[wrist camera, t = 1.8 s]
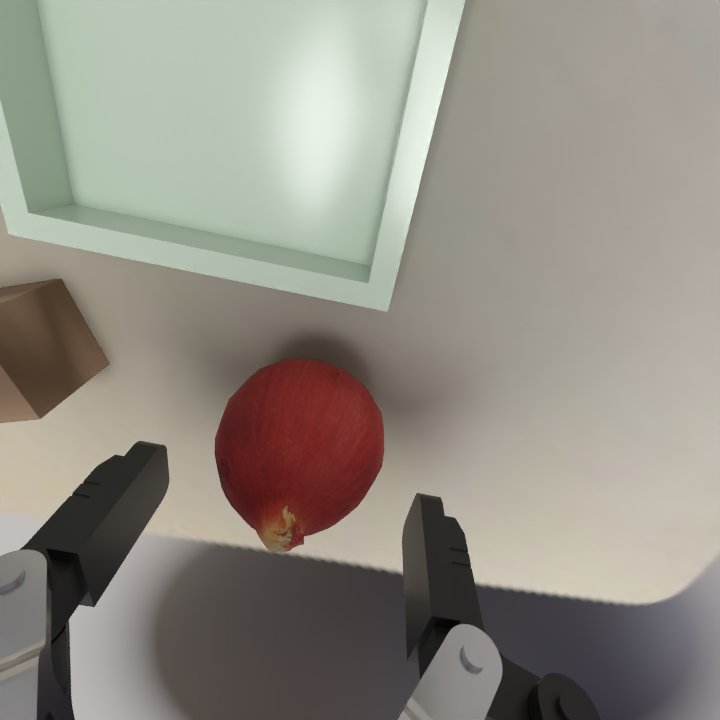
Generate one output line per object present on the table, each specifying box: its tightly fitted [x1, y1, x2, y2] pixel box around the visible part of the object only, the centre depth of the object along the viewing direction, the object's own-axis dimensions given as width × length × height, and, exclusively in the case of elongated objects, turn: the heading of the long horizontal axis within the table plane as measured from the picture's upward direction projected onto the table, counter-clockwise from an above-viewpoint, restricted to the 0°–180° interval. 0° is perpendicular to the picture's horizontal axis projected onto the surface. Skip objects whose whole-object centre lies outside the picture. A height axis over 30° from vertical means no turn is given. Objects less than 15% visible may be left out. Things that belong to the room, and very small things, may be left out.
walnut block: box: [0, 279, 109, 423], centre depth 15 cm, size 4×4×4 cm
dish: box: [0, 0, 465, 312], centre depth 10 cm, size 12×12×2 cm
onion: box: [215, 359, 384, 552], centre depth 13 cm, size 6×6×8 cm
